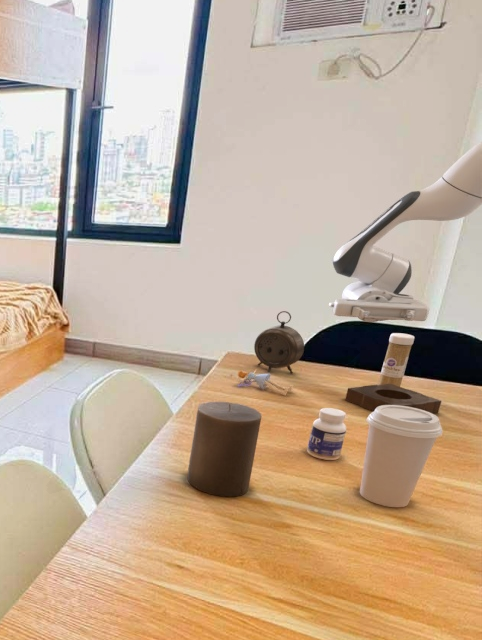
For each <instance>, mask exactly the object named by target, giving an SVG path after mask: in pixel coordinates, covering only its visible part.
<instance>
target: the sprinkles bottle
mask: <svg viewBox="0 0 482 640" xmlns="http://www.w3.org/2000/svg"><path fill="white" fill-rule="evenodd" d="M414 341H415V336H414V335H412V334H408V333H401V332H392V333H391V334H390V336H389V339H388V346H387V349H386V354H385V357H384V360H383V364H382V367H381V371H380V376H379V380H378V383H377V385H382V384H393V385H396V386H399V387H401V385H402V382H403V378H404V375H405V371H406V368H407V364H408V360H409V356H410V352H411V349H412V346H413V344H414Z"/></svg>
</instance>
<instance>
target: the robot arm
mask: <svg viewBox="0 0 482 640" xmlns="http://www.w3.org/2000/svg"><path fill="white" fill-rule="evenodd" d="M481 205H482V141H481V142H478V143H477V144H475V145H473V146H472V147H471V148H470V149H469V150H467V151H466V152H464V154H462V156H461V157H459V158H458V159H457V160H456V161H455V162H454V163H453V164H452V165H451V166H450V167H449V168H448V169H447V170H446V171H445V172H444V173H443V174H442V175H441V176H440V178H438V179H437V180H436V181H435V182H433V183H432V184H430V185H429V186H427V187H425V188H423V189H420V190H416V191H415V190H414V191H411V192H409V193H407V194H405V195H404V196H402V197H401V198H399V200H398V199H397V200H396V201H395V203H393V204H392V205H390V207H389V208H387V209H386V210H384V212H382V213H381V214H380V215H379V216H378V217H377V218H375V220H373V221H372V222H371V223H370V224H368V225H367V226H366V227H365V228H364V229H362V230H361V231H360V232H359V233H358V234H356V235H355V236H354V237H352V238H351V239H350V240H348V241H346V242H345V243H344V244H343V245H342V246H341V247H339V249H337V251H336V252H335V254H334V256H333V257H332V260H331V261H332V265H333V266H332V267H333V268H334V271H335V272H336V274H338V275H341V276H344V277H347V278H351V279H353V280H356V281H354V282H352V283H349V284H347V285H346V287H345V288H344V289H343V291H342V294H341V298H335V300H334V301H330V302H329V303H328V306H329V307H330V308H332V314H333V315H334V316H336V317H349V318H358V319H359V320H361V321H363V322H366V323H376V322H383V321H384V322H385V321H409V322H413V321H415V322H425V321H427V319H428V317H429V313H430V307H429V306H428V305H427V304H426V303H424V302H422V301H420V300H417V299H415V296H413V295H411V294H404V293H401V292H402V291H403V290H404V289H405V287H406V286H407V285H408V283H409V282H410V280H411V278H412V264H411V261H410V260H409V259H407V258H404V257H402V256H400V255H398V254H394V252H393V253H392V252H389V251H387V250H385V249H383V248H380V247H377V246H375V244H377V242H378V241H380V240H381V239H382V238H383V237H385V236H386V235H387V234H389V232H391V231H392V230H393V229H395V228H396V227H397V226H398V225H400V224H402V223H405V222H409V221H436V222H449V221H455V220H459V219H462V218H464V217H467V216H469V215H470V214H472V213H473V212H474V211H476V210H477V209H478V208H479V207H480V206H481Z"/></svg>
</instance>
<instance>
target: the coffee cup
mask: <svg viewBox="0 0 482 640" xmlns="http://www.w3.org/2000/svg"><path fill="white" fill-rule="evenodd" d="M366 423H368V430H367V431H368V432H367V439H366V445H365V446H366V447H365V454H364V458H363V459H364V460H363V467H362V473H361V474H362V475H361V481H360V488H359V494H360V496H361V497H362V498H364V499H365V500H367V501H369V502H371V503H373V504H376V505H379V506H383V507H387V508H388V507H389V508H404V507H407V506H408V505H409V503H410V501H411V498H412V496H413V493H414V492H415V489H416V486H417V484H418V482H419V479H420V477H421V475H422V472H423V470H424V468H425V466H426V463H427V461H428V459H429V456H430V454H431V451H432V450H433V447H434V445H435V443H436V440H437V439H438V438H439V437H442V435H443V427H442V425H441V423H440V418H439V417H438V415H436V414H432V413H430V412H427V411H424V410H421V409H417V408H413V407H407V406H400V405H382V406H378V407H377V408H376V409H375V411H371V412H370V413H369V415H368V416H367V418H366Z"/></svg>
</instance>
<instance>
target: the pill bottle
mask: <svg viewBox="0 0 482 640" xmlns="http://www.w3.org/2000/svg"><path fill="white" fill-rule="evenodd" d="M346 415H347V413H346V412H345V411H343V410H341V409H338V408H332V407H323V408H322V407H321V409H320V410H319V414H318V418H317V419H315V420H314V421H313V423H312V426H311V430H310V436H309V439H308V444H307V449H306V451H307V453H308V454H309V455H310V456H312V457H314V458H316V459H320V460H324V461H326V460H327V461H335V460H338V459H339V458H340V457H341V453H342V448H343V444H344V441H345V436H346V433H347V425H346V424H345V423H344V422H345V420H346Z"/></svg>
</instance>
